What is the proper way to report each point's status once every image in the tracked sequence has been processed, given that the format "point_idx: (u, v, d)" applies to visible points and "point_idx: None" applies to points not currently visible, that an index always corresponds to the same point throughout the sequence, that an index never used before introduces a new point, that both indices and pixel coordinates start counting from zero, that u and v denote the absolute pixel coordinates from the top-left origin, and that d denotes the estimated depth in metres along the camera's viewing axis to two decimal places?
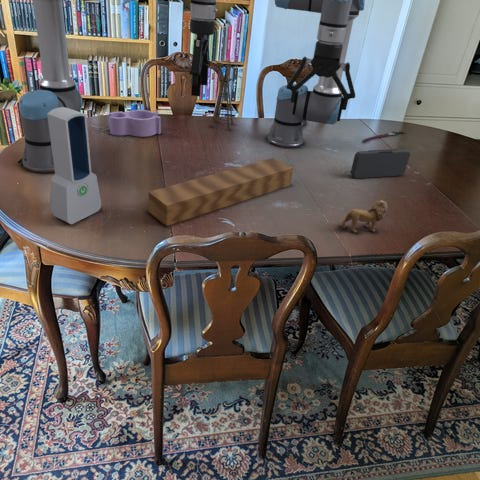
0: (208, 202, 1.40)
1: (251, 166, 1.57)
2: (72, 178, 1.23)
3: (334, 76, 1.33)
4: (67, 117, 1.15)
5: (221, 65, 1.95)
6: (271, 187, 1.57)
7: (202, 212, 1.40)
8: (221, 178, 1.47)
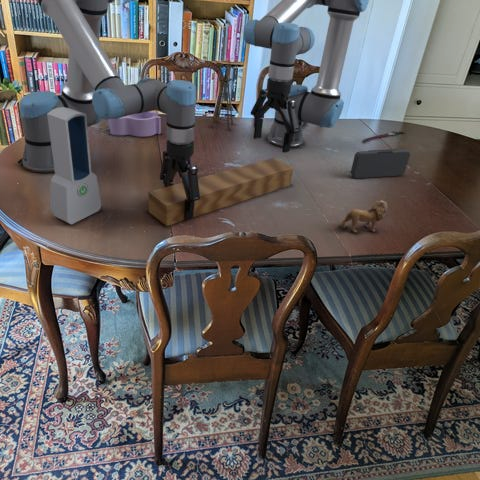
0: (208, 202, 1.40)
1: (251, 166, 1.57)
2: (72, 178, 1.23)
3: None
4: (67, 117, 1.15)
5: (221, 65, 1.95)
6: (271, 187, 1.57)
7: (202, 212, 1.40)
8: (221, 178, 1.47)
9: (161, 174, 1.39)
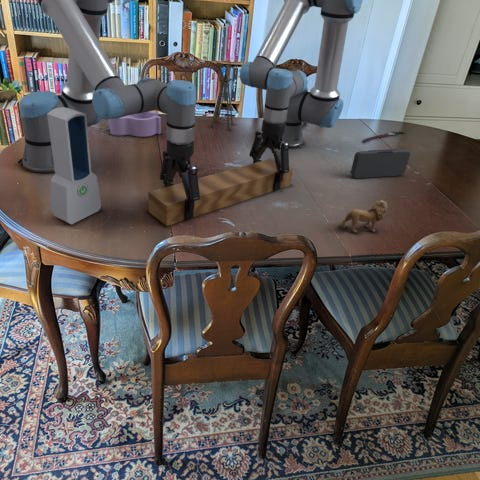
0: (208, 202, 1.40)
1: (251, 166, 1.57)
2: (72, 178, 1.23)
3: None
4: (67, 117, 1.15)
5: (221, 65, 1.95)
6: (271, 187, 1.57)
7: (202, 212, 1.40)
8: (221, 178, 1.47)
9: (161, 174, 1.39)
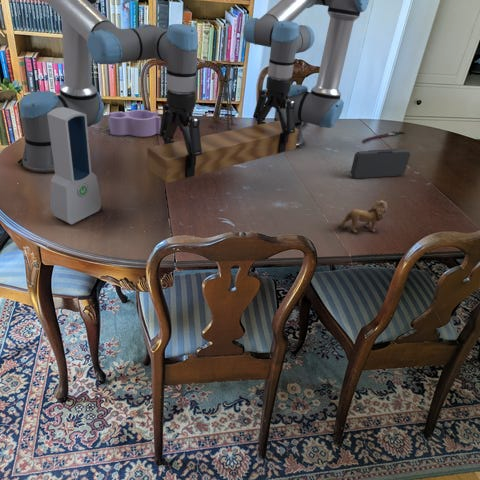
0: (210, 160, 1.33)
1: (255, 127, 1.50)
2: (72, 178, 1.23)
3: None
4: (67, 117, 1.15)
5: (221, 65, 1.95)
6: (276, 149, 1.50)
7: (204, 171, 1.33)
8: (223, 137, 1.40)
9: (161, 130, 1.32)
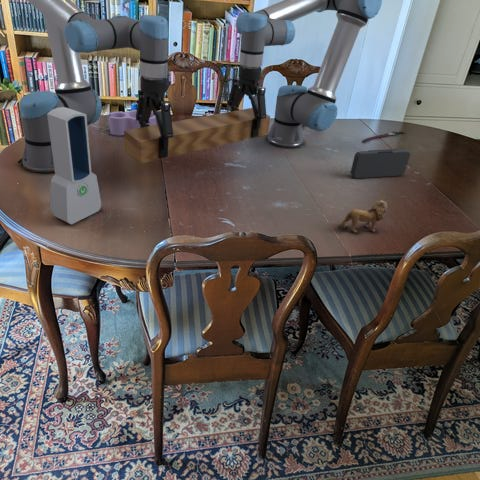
0: (183, 143, 1.43)
1: (229, 113, 1.60)
2: (72, 178, 1.23)
3: None
4: (67, 117, 1.15)
5: (221, 65, 1.95)
6: (248, 134, 1.59)
7: (177, 153, 1.43)
8: (197, 122, 1.50)
9: (137, 114, 1.42)
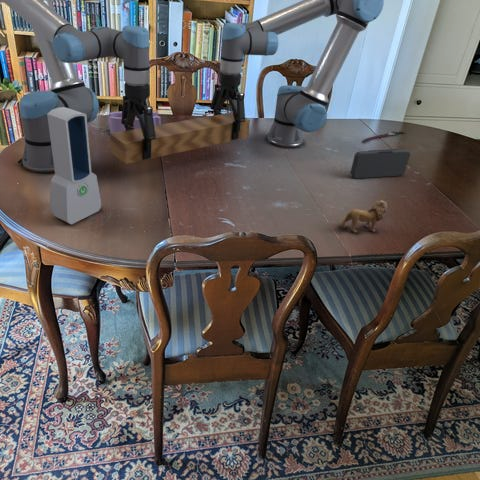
0: (166, 145, 1.52)
1: (211, 117, 1.69)
2: (72, 178, 1.23)
3: None
4: (67, 117, 1.15)
5: None
6: (229, 137, 1.68)
7: (160, 154, 1.52)
8: (180, 125, 1.59)
9: (122, 118, 1.51)
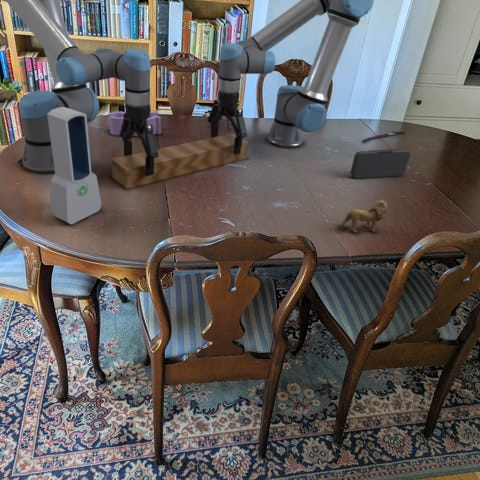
0: (166, 169, 1.56)
1: (209, 140, 1.74)
2: (72, 178, 1.23)
3: None
4: (67, 117, 1.15)
5: None
6: (227, 159, 1.73)
7: (160, 178, 1.57)
8: (179, 149, 1.64)
9: (121, 132, 1.54)
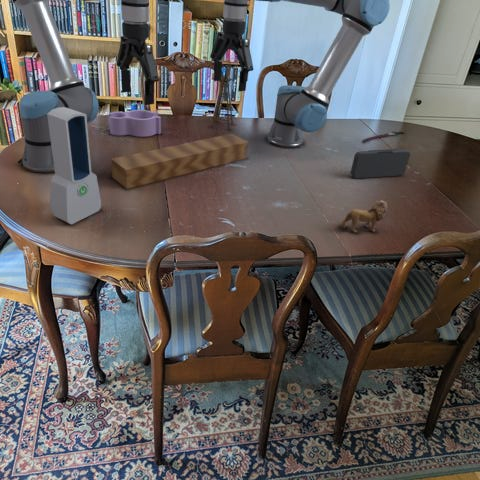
0: (166, 169, 1.56)
1: (209, 140, 1.74)
2: (72, 178, 1.23)
3: None
4: (67, 117, 1.15)
5: None
6: (227, 159, 1.73)
7: (160, 178, 1.57)
8: (179, 149, 1.64)
9: (118, 60, 1.42)
